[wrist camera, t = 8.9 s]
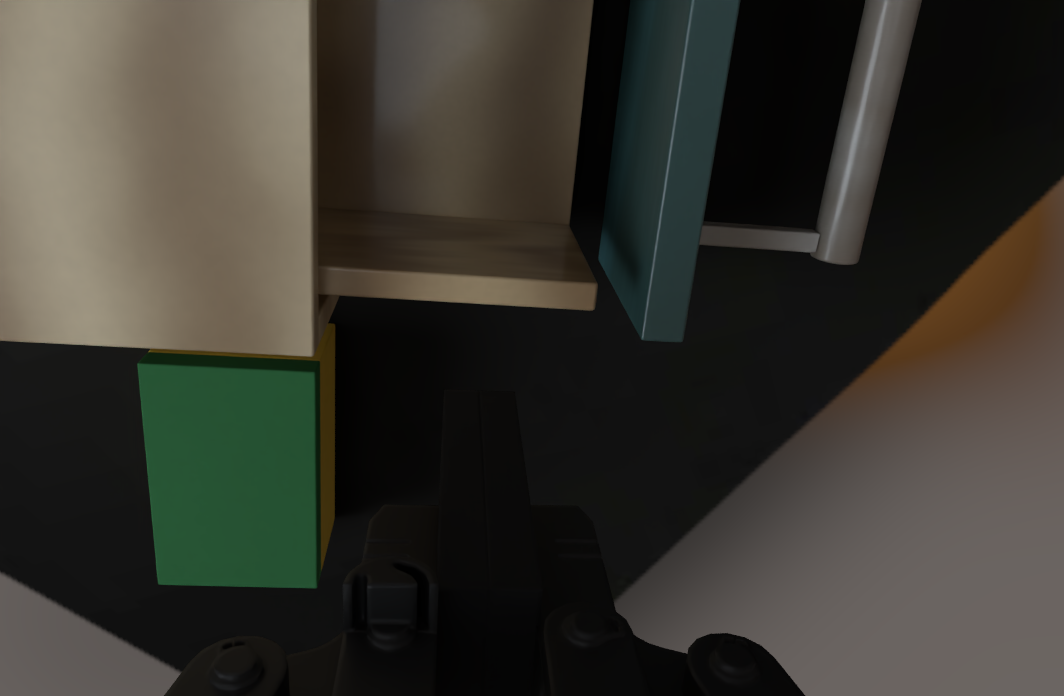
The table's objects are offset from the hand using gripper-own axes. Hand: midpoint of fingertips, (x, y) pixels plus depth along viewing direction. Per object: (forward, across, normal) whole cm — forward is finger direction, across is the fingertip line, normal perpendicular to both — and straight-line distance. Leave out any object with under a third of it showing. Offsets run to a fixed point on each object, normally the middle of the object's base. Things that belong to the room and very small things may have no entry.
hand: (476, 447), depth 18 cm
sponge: (+14, +8, +6) cm, 17 cm away
